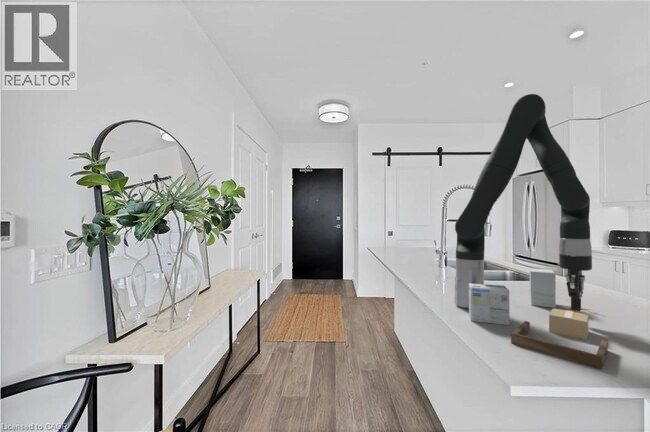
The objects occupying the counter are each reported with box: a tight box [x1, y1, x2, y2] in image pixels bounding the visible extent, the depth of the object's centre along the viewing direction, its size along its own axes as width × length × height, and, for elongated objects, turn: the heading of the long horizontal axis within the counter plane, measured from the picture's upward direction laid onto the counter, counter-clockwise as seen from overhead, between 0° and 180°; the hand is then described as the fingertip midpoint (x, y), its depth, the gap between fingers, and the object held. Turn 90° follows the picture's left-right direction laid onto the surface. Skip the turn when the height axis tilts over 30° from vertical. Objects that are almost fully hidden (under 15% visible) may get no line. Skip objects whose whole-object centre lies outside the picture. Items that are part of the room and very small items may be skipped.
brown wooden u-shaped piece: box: [510, 320, 609, 370], centre depth 73 cm, size 13×17×2 cm
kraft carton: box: [548, 308, 589, 341], centre depth 82 cm, size 8×8×5 cm
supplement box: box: [529, 268, 557, 309], centre depth 107 cm, size 7×7×13 cm
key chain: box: [556, 304, 607, 318], centre depth 101 cm, size 13×7×1 cm, turn 50°
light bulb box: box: [468, 283, 511, 326], centre depth 91 cm, size 11×7×11 cm, turn 71°
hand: (576, 310), depth 88 cm, fingers closed
